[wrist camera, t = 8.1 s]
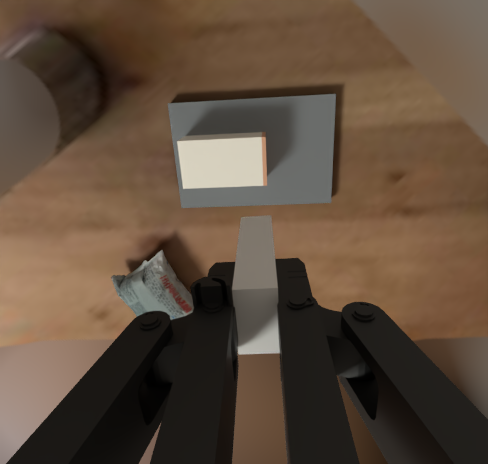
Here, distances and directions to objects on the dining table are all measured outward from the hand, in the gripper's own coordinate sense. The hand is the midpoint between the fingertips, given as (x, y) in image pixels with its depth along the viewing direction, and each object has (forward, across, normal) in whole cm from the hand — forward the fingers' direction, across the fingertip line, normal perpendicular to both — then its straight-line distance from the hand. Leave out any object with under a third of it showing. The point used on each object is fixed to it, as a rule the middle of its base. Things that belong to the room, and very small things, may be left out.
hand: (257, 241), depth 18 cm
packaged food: (+25, -14, -18) cm, 34 cm away
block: (+21, +1, 0) cm, 21 cm away
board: (+25, -1, 0) cm, 25 cm away
